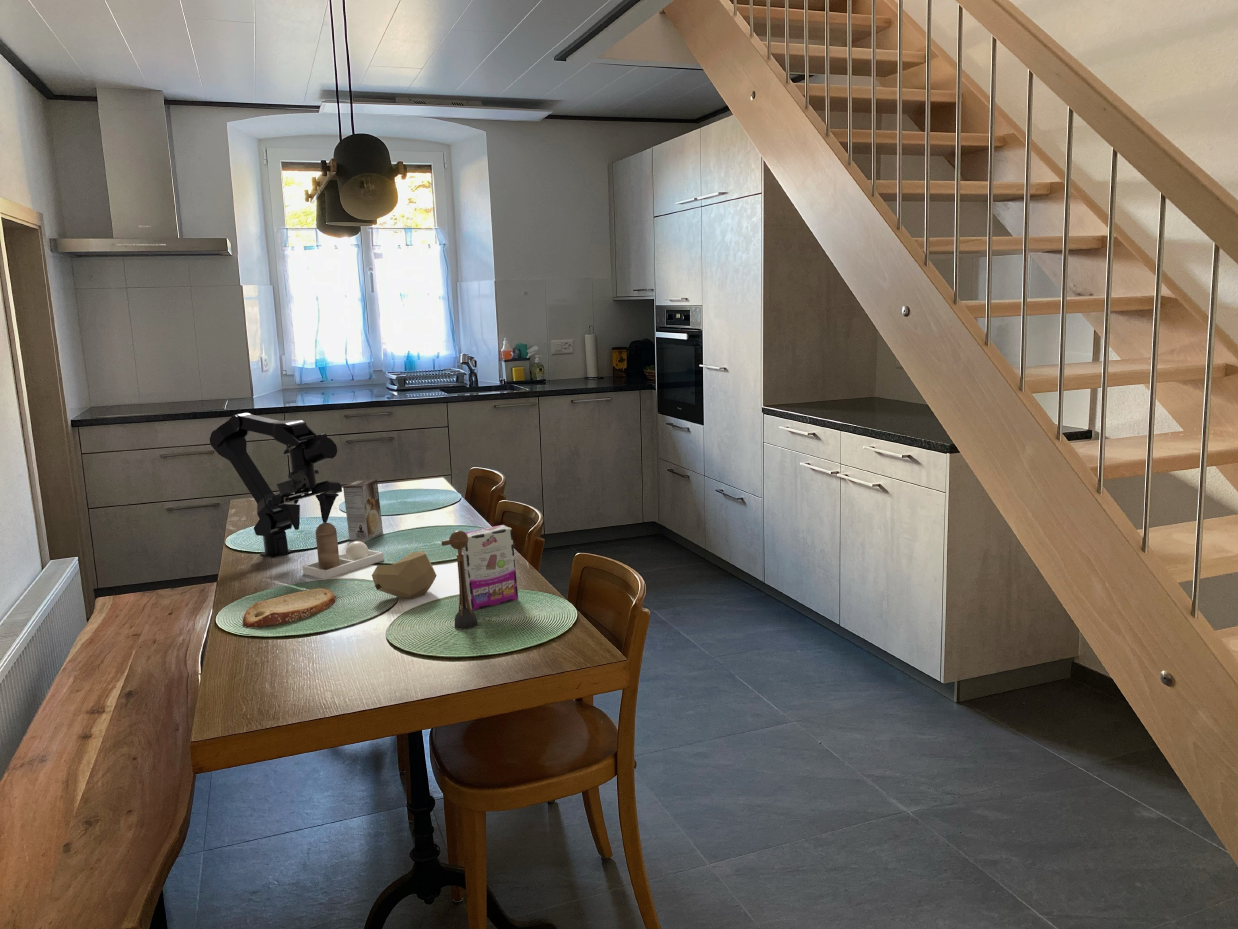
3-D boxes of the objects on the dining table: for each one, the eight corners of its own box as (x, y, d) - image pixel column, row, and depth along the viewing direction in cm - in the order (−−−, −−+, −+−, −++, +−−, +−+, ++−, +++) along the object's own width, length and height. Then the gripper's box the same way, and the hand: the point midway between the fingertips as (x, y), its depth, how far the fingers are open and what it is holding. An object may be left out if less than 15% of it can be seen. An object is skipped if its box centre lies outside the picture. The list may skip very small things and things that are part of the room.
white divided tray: (303, 575, 226) (302, 566, 225) (361, 557, 240) (360, 548, 239) (326, 581, 220) (324, 571, 220) (384, 561, 234) (383, 552, 234)
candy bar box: (509, 594, 203) (503, 523, 200) (519, 600, 199) (513, 527, 196) (462, 605, 197) (456, 532, 194) (471, 611, 193) (465, 537, 190)
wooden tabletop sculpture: (453, 631, 181) (444, 535, 178) (446, 625, 185) (437, 531, 182) (481, 625, 184) (473, 530, 180) (473, 619, 188) (465, 526, 184)
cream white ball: (342, 563, 233) (340, 542, 232) (360, 558, 237) (358, 537, 236) (356, 566, 229) (353, 545, 228) (373, 560, 234) (371, 540, 233)
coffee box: (363, 532, 267) (357, 479, 264) (383, 532, 266) (378, 478, 263) (348, 540, 258) (342, 485, 255) (369, 540, 257) (363, 485, 254)
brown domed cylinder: (315, 572, 226) (310, 524, 224) (332, 567, 230) (327, 519, 228) (327, 575, 223) (322, 526, 221) (344, 570, 227) (339, 521, 225)
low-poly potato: (449, 588, 210) (417, 561, 215) (449, 557, 203) (416, 529, 208) (396, 623, 201) (365, 593, 206) (394, 591, 194) (361, 561, 199)
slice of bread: (338, 595, 209) (337, 580, 209) (326, 622, 192) (324, 605, 191) (258, 604, 207) (256, 588, 206) (238, 631, 189) (236, 614, 189)
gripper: (252, 473, 232) (260, 533, 230) (309, 457, 226) (318, 518, 223) (283, 476, 243) (291, 533, 240) (339, 460, 236) (347, 519, 234)
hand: (310, 526), depth 234 cm, fingers open, 9 cm apart
